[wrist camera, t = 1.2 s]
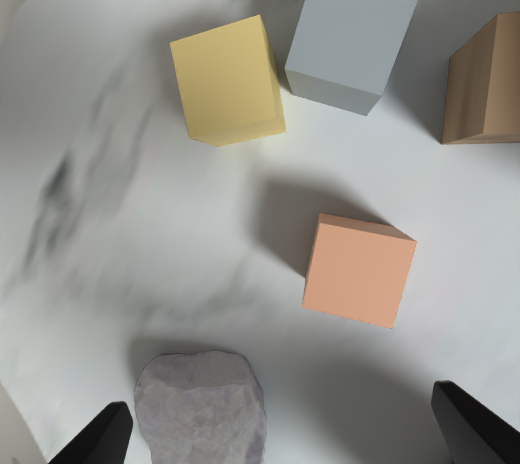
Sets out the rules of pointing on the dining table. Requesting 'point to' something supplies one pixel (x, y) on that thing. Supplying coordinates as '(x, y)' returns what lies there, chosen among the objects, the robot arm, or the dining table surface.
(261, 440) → the stone block
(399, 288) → the terracotta cube
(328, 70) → the slate cube
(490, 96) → the walnut cube
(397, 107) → the dining table surface
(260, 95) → the ochre cube
